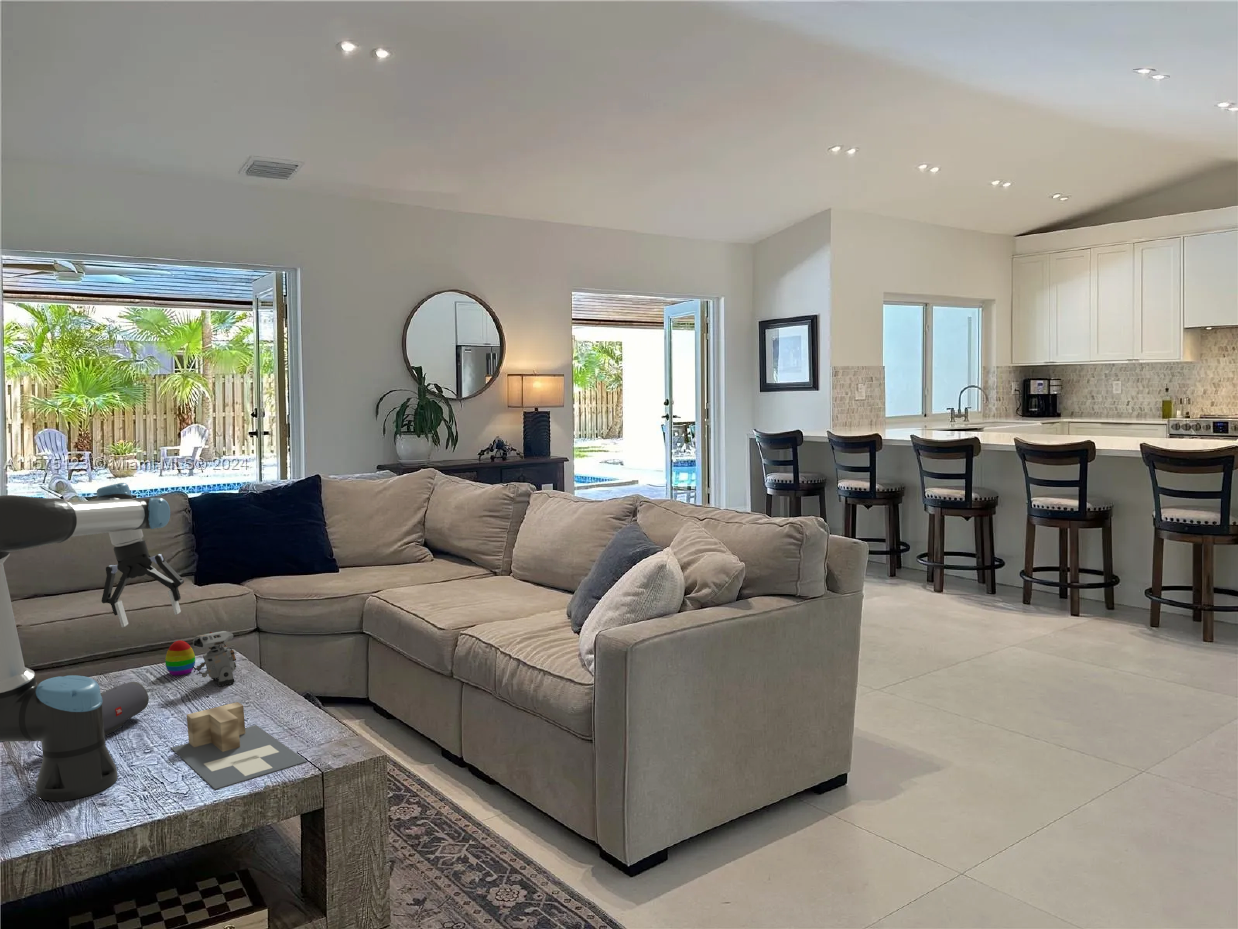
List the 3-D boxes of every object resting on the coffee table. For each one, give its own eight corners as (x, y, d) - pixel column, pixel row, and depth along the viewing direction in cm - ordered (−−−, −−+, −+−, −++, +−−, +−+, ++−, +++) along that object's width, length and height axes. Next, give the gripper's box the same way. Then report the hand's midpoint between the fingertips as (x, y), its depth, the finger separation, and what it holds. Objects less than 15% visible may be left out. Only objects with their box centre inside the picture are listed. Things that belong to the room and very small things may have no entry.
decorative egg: (160, 677, 277) (157, 644, 276) (177, 668, 285) (175, 636, 284) (185, 677, 275) (182, 644, 274) (201, 669, 283) (199, 637, 282)
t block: (204, 757, 213) (202, 727, 212) (188, 743, 222) (186, 714, 221) (257, 742, 221) (255, 713, 220) (239, 729, 230) (237, 702, 229)
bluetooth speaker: (86, 751, 220) (82, 711, 219) (52, 750, 221) (49, 709, 221) (152, 717, 242) (149, 680, 241) (121, 716, 244) (118, 679, 243)
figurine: (190, 684, 268) (186, 633, 267) (232, 675, 275) (228, 626, 274) (198, 692, 261) (194, 640, 260) (240, 682, 268) (236, 632, 267)
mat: (215, 789, 195) (214, 788, 195) (171, 748, 219) (171, 747, 219) (307, 761, 208) (307, 761, 208) (256, 725, 232) (256, 725, 232)
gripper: (182, 528, 245) (204, 604, 248) (85, 550, 242) (108, 626, 245) (172, 534, 237) (195, 612, 240) (72, 556, 235) (96, 635, 238)
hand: (151, 619), depth 243 cm, fingers open, 13 cm apart
